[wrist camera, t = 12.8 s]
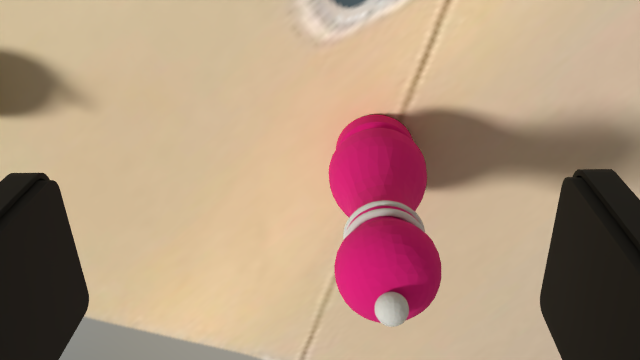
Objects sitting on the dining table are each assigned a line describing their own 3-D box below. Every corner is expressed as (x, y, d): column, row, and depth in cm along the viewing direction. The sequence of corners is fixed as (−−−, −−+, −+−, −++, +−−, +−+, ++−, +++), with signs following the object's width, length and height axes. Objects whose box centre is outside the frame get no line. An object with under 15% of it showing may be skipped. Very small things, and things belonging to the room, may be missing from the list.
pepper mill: (401, 94, 44) (439, 243, 27) (431, 171, 47) (483, 350, 30) (315, 127, 46) (298, 289, 28) (350, 200, 49) (353, 386, 31)
